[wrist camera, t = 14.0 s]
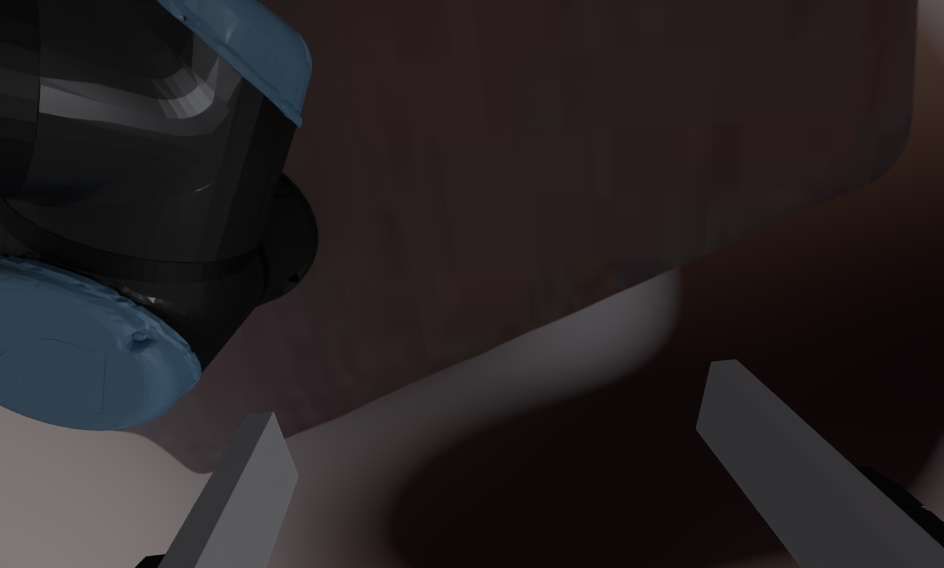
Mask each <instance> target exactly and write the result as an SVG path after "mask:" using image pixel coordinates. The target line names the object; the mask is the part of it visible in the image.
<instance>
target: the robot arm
mask: <svg viewBox="0 0 944 568" xmlns="http://www.w3.org/2000/svg"><path fill="white" fill-rule="evenodd" d="M311 72H312V59H311V55H310V52H309V49H308V47H307V45H306V43H305V41H304V40H303V38H302V37H301V35H300V34H299V33H298V32H297V31H296V30H295V29H294V28H293V27H292V26H291V25H289V24H288V23H287V22H286V21H284V20H283V19H282V18H280V17H279V16H278V15H276V14H275V13H274V12H272V11H271V10H270V9H268V8H267V7H266V6H264V5H263V4H262V3H260V2H259V1H257V0H0V405H1V406H2V407H5V408H7V409H9V410H11V411H14V412H16V413H18V414H21V415H23V416H26V417H29V418H32V419H35V420H38V421H42V422H45V423H49V424H53V425H57V426H62V427H67V428H73V429H81V430H96V431H103V430H117V429H122V428H125V427H128V426H135V425H140V424H144V423H146V422H149V421H151V420H153V419H155V418H157V417H159V416H160V415H162V414H163V413H165V412H166V411H167V410H168V409H170V408H171V407H172V406H173V405H174V403H175V402H176V401H177V400H178V399H179V398H180V397H181V396H182V395H183V394H184V393H186V392H188V391H189V390H191V389H193V388H194V387H195V385H196V383H197V382H198V381H199V379H200V377H201V374H202V372H203V371H204V370H205V369H206V367H207V366H208V365H209V364H210V363H211V361H212V360H213V359H214V358H215V356H216V355H217V354H218V353H219V352H220V350H221V349H222V348H223V347H224V345H225V344H226V343H227V342H228V340H229V339H230V338H231V337H232V336H233V334H234V333H235V332H236V331H237V329H238V328H239V327H240V326H241V325H242V323H243V322H244V321H245V320H246V318H247V317H248V316H249V315H250V314H251V312H252V311H253V310H254V309H255V307H257V306H260V305H262V304H265V303H267V302H270V301H272V300H275V299H277V298H279V297H281V296H283V295H285V294H286V293H288V292H289V291H291V290H292V289H293V288H294V287H295V286H296V285H298V283H299V282H300V281H301V280H302V279H303V277H304V276H305V275H306V273H307V272H308V270H309V269H310V267H311V265H312V263H313V261H314V259H315V256H316V252H317V247H318V230H317V225H316V221H315V217H314V214H313V212H312V210H311V207H310V205H309V204H308V202H307V200H306V198H305V197H304V195H303V194H302V193H301V191H300V190H299V189H298V188H297V186H296V185H295V184H294V183H293V182H292V181H291V180H290V179H289V178H288V177H286V176H285V175H284V174H283V173H282V170H283V167H284V163H285V160H286V157H287V154H288V151H289V148H290V145H291V142H292V138H293V135H294V132H295V129H296V127H297V128H300V127H301V125H302V118H301V116H300V114H301V110H302V106H303V103H304V99H305V95H306V91H307V88H308V84H309V80H310V76H311ZM696 430H697V431H698V432H699V434H700V435H701V436H702V438H703V439H704V440H705V442H706V443H707V444H708V445H709V447H710V448H711V449H712V451H713V452H714V453H715V455H716V456H717V457H718V459H719V460H720V461H721V463H722V464H723V465H724V467H725V468H726V469H727V470H728V472H729V473H730V474H731V476H732V477H733V478H734V480H735V481H736V482H737V483H738V485H739V486H740V487H741V489H742V490H743V491H744V493H745V494H746V495H747V497H748V498H749V499H750V500H751V502H752V503H753V505H754V506H755V507H756V509H757V510H758V511H759V513H760V514H761V515H762V516H763V518H764V519H765V520H766V522H767V523H768V524H769V526H770V527H771V528H772V530H773V531H774V532H775V534H776V535H777V536H778V537H779V539H780V540H781V541H782V543H783V544H784V545H785V547H786V548H787V549H788V551H789V552H790V553H791V555H792V556H793V557H794V559H795V560H796V561H797V563H798V564H799V565H800V566H801V568H944V522H943V521H941V520H940V519H939V518H938V517H937V516H936V515H934V514H933V513H932V512H931V511H927V510H926V509H925V507H924V505H923V504H922V503H920V502H919V501H918V500H917V499H916V498H914V496H912V495H911V494H910V493H909V492H908V491H906V490H905V489H904V488H903V487H902V486H901V485H899V484H898V483H897V482H894V481H893V480H891V479H890V478H888V477H886V476H885V475H883V474H881V473H880V472H878V471H876V470H875V469H873V468H871V467H870V466H868V465H867V466H859V467H854V466H853V465H852V464H851V463H850V462H848V461H847V460H846V459H845V458H844V457H843V456H842V455H841V454H840V453H839V452H837V451H836V450H835V449H834V448H833V447H832V446H831V445H830V444H829V443H827V442H826V441H825V440H824V439H823V438H822V437H821V436H820V435H819V434H818V433H816V432H815V431H814V430H813V429H812V428H811V427H810V426H809V425H808V424H806V423H805V422H804V421H803V420H802V419H801V418H800V417H799V416H798V415H797V414H795V413H794V412H793V411H792V410H791V409H790V408H789V407H788V406H787V405H786V404H784V403H783V402H782V401H781V400H780V399H779V398H778V397H777V396H776V395H774V394H773V393H772V392H771V391H770V390H769V389H768V388H767V387H766V386H765V385H764V384H762V383H761V382H760V381H759V380H758V379H757V378H756V377H754V375H753V374H751V373H750V372H749V371H748V370H747V369H746V368H745V367H744V366H743V365H742V364H740V363H739V362H738V361H737V360H726V361H717V362H711V367H710V370H709V375H708V379H707V383H706V388H705V392H704V396H703V400H702V405H701V409H700V413H699V418H698V422H697V426H696ZM297 479H298V474H297V471H296V468H295V466H294V463H293V461H292V458H291V456H290V453H289V451H288V448H287V445H286V443H285V440H284V438H283V435H282V433H281V430H280V427H279V425H278V422H277V420H276V417H275V415H274V412H265V413H257V414H248V415H246V417H245V418H244V420H243V422H242V424H241V425H240V427H239V429H238V430H237V432H236V434H235V436H234V437H233V439H232V441H231V442H230V444H229V446H228V448H227V449H226V451H225V453H224V454H223V456H222V458H221V460H220V461H219V463H218V465H217V467H216V468H215V470H214V472H213V473H212V475H211V477H210V479H209V480H208V482H207V484H206V485H205V487H204V489H203V491H202V492H201V494H200V496H199V498H198V499H197V501H196V503H195V504H194V506H193V508H192V510H191V511H190V513H189V515H188V517H187V518H186V520H185V522H184V523H183V525H182V527H181V529H180V530H179V532H178V534H177V535H176V537H175V539H174V541H173V542H172V544H171V546H170V548H169V549H168V551H167V552H166V554H163V555H154V556H146V557H145V558H144V559H143V560H142V561H141V562H140V563H139V564H138V565H137V566H136V567H135V568H266V566H267V564H268V561H269V558H270V555H271V552H272V549H273V547H274V544H275V541H276V538H277V535H278V533H279V530H280V527H281V524H282V521H283V519H284V516H285V513H286V510H287V507H288V504H289V501H290V499H291V496H292V493H293V490H294V488H295V485H296V482H297Z"/></svg>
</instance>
